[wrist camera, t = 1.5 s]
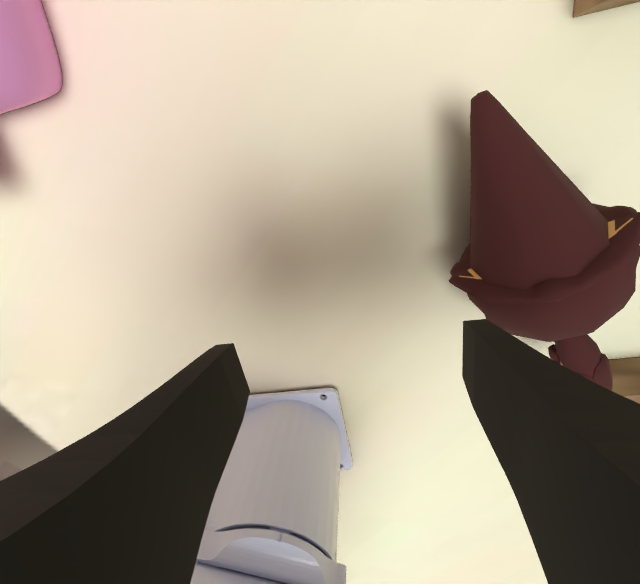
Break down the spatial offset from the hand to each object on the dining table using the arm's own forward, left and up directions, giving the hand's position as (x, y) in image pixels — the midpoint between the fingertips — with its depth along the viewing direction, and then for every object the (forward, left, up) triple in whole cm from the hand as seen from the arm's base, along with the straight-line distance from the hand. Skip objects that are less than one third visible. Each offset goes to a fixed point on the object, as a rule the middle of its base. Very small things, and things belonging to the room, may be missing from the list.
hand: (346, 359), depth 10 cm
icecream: (+8, 0, -10) cm, 13 cm away
